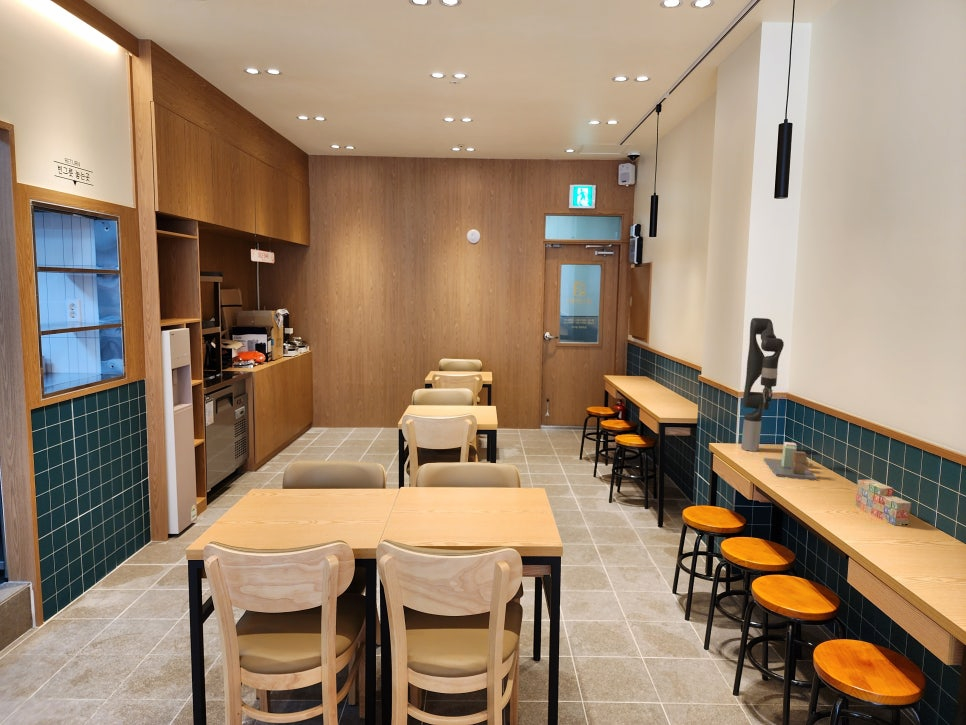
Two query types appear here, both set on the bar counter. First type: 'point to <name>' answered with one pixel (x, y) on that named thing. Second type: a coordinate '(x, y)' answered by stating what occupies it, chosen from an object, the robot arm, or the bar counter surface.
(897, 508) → the stack of blocks
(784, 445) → the cream block
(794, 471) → the brown block
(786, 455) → the pale green block
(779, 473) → the rail board
